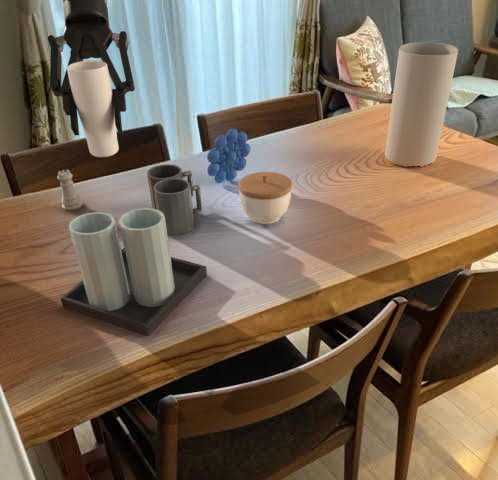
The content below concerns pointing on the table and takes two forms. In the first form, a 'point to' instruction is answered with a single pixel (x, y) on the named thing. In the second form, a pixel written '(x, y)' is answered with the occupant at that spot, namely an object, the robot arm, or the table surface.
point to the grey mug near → (177, 204)
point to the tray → (132, 312)
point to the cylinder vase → (419, 102)
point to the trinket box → (265, 196)
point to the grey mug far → (165, 177)
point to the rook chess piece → (68, 192)
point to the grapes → (228, 156)
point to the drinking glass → (94, 105)
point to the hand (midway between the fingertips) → (97, 130)
